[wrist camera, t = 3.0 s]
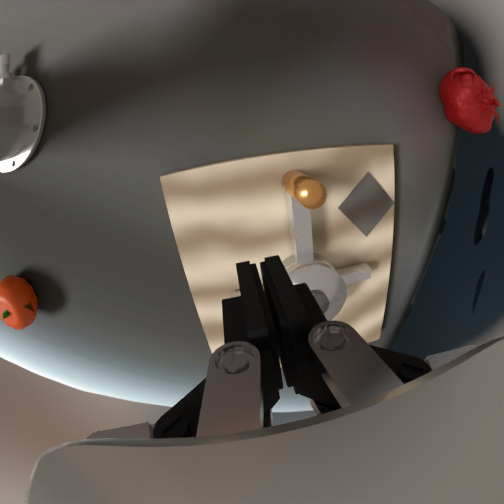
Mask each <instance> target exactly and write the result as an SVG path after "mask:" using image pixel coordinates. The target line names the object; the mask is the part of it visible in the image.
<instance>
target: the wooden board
mask: <svg viewBox="0 0 504 504" xmlns="http://www.w3.org/2000/svg"><path fill="white" fill-rule="evenodd" d="M292 170H295V171H298V172H300V173H302V174H304V175H306V176H309V177H311V178H313V179H314V180H316V181H318V182H320V183H322V184H323V185H324V186H325V188H326V190H327V198H326V201H325V203H324V204H323V205H322V206H321V207H319V208H317V209H310V212H311V225H312V240H313V252H314V253H318V254H320V255H322V256H324V257H325V258H326V259H327V260H328V261H329V262H330V264H331V265H332V266H333V267H334V268H335V270H337V269H342V268H346V267H350V266H354V265H358V264H362V263H366V264H367V265H368V266H369V267H370V268H371V278H370V279H367V280H363V281H359V282H355V283H352V284H348V285H346V288H347V296H346V300H345V303H344V305H343V307H342V309H341V310H340V312H339V313H338V314H337V315H336V316H335V317H334V318H333V319H332V320H331V321H341V322H345V323H347V324H349V325H350V326H352V327H353V328H354V329H355V330H356V331H357V332H358V333H359V335H360V336H361V337H362V338H363V339H364V340H365V341H366V342H367V343H369V342H372V341H374V340H377V339H379V338H380V333H381V328H382V323H383V317H384V311H385V305H386V298H387V291H388V284H389V275H390V266H391V256H392V244H393V228H394V195H395V183H394V151H393V144H387V143H373V144H354V145H339V146H327V147H316V148H307V149H298V150H290V151H282V152H275V153H268V154H261V155H254V156H248V157H242V158H237V159H231V160H226V161H220V162H215V163H210V164H205V165H200V166H196V167H191V168H187V169H182V170H178V171H174V172H169V173H165V174H163V175H162V176H160V180H161V184H162V189H163V193H164V197H165V201H166V205H167V209H168V213H169V217H170V221H171V224H172V228H173V232H174V236H175V239H176V243H177V246H178V250H179V253H180V257H181V260H182V264H183V267H184V270H185V274H186V277H187V280H188V283H189V287H190V290H191V293H192V296H193V299H194V302H195V305H196V308H197V311H198V314H199V317H200V320H201V323H202V326H203V329H204V332H205V335H206V338H207V340H208V343H209V346H210V349H211V351H212V354H213V352H214V351H215V350H216V349H217V348H219V347H220V346H222V345H224V330H223V314H222V299H227V298H231V292H236V291H240V288H239V282H238V275H237V269H236V263H240V262H245V261H250V264H254V263H256V266H257V269H258V273H259V276H260V279H261V283H262V286H263V281H262V274H261V268H260V262H264V261H265V260H264V258H265V257H270V256H275V255H279V257H280V259H281V261H283V260H285V259H286V258H288V257H289V256H291V255H293V254H292V244H291V234H290V225H289V216H288V207H287V198H286V191H285V190H284V188H283V186H282V178H283V176H284V175H285V174H286V173H287V172H288V171H292ZM279 360H280V358H279ZM281 367H282V365H281V362H280V368H281Z"/></svg>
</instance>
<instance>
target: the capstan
mask: <svg viewBox="0 0 504 504" xmlns="http://www.w3.org/2000/svg"><path fill="white" fill-rule="evenodd" d="M282 186H283V188H284V190H285V191H286V198H287V207H288V216H289V225H290V234H291V244H292V254H293V255H291V256H289V257H288V258H286V259H285V260H283V261H282V263H283V265H284V267H285V269H286V271H287V273H288V275H289V277H290V279H291V281H292V283H293V285H296V284H301V283H306V284H307V285H308V287H309V289H310V290H311V292H312V294H313V296H314V298H315V299H316V301H317V303H318V305H319V306H320V308H321V310H322V312H323V314H324V315H325V317H326V319H327V321H331V320H332V319H333V318H334V317H335V316H336V315H337V314H338V313H339V312H340V310H341V309H342V307H343V305H344V303H345V300H346V296H347V288H346V285H348V284H352V283H355V282H359V281H363V280H367V279H370V278H371V268H370V267H369V266H368V265H367V264H366V263H362V264H358V265H354V266H350V267H346V268H342V269H337V270H335V268H334V267H333V266H332V265H331V264H330V262H329V261H328V260H327V259H326V258H325V257H324V256H322V255H320V254H318V253H314V252H313V240H312V225H311V212H310V209H317V208H319V207H321V206H322V205H323V204H324V203H325V201H326V198H327V190H326V188H325V186H324V185H323V184H322V183H320V182H318V181H316V180H314V179H313V178H311V177H309V176H306V175H304V174H302V173H300V172H298V171H295V170H292V171H288V172H287V173H286V174H285V175H284V176H283V178H282ZM263 289H264V287H263ZM237 296H241V294H240V291H236V292H231V298H232V297H237Z"/></svg>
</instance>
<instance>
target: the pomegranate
mask: <svg viewBox="0 0 504 504" xmlns="http://www.w3.org/2000/svg"><path fill="white" fill-rule="evenodd" d="M479 78H480V79H479ZM493 92H494V85H493V88H492V89H490V88H489V87H488V86H487V85H486V83H485V82H484V81H483V80H482V79H481V77H480V76H479V77H478V76H477V75H476V74H475V72H474V71H473V70H472V69H469V68H466V67H459V68H456V69H454V70H451V71H450V72H448V73H447V74H446V75H445V76H444V78H443V79H442V81H441V84H440V91H439V94H440V98H441V101H442V103H443V106H444V112H445V115H446V117H447V119H448V120H449V121H450V122H451V123H453V124H454V125H456V126H458V127H460V128H462V129H464V130H466V131H468V132H470V133H473V134H479V133H486V132H488V131H489V130H490V129H491V126H492V121H493V118H494V116H495V115H496V117H497V123H498V121H499V117H498V115H497V113H496V111H495V109H496V106H497V107H498V106H500V103H499V101H498V100H497V99H495V96H494V93H493Z"/></svg>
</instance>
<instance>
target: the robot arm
mask: <svg viewBox="0 0 504 504" xmlns="http://www.w3.org/2000/svg"><path fill="white" fill-rule="evenodd" d="M9 66H10V53H5V54H2V55H1V56H0V172H11V171H14V170H16V169H18V168H20V167H22V166H23V165H24V164H25V163H26V162H27V161H28V160H29V159H30V158H31V156H32V155H33V153H34V152H35V150H36V148H37V146H38V144H39V142H40V139H41V136H42V133H43V129H44V124H45V117H46V101H45V96H44V93H43V90H42V87H41V86H40V84H39V83H38V82H37V81H36V80H35V79H34V78H32V77H29V76H23V75H19V76H14V77H12V73H10V72H9ZM264 260H265V261H264V262H260V268H261V274H262V281H263V286H262V283H261V279H260V276H259V273H258V269H257V266H256V263H254V264H250V261H245V262H240V263H236V269H237V275H238V282H239V288H240V294H241V296H237V297H232V298H227V299H222V314H223V330H224V345H222V346H220V347H219V348H217V349H216V350H215V351H214V352H213V354H212V355H211V358H210V360H209V366H208V371H207V377H206V378H205V379H204V380H203V381H202V382H201V383H200V384H198V385H197V386H196V387H195V388H194V389H193V390H192V391H191V392H189V393H188V394H187V395H186V396H185V397H184V398H183V399H181V400H180V401H179V402H178V403H177V404H176V405H174V406H173V407H172V408H171V409H170V410H169V411H167V412H166V413H165V414H164V415H163V416H161V417H160V419H159V420H158V421H157V422H156V423H155V424H151V425H150V424H149V423H148V422H145V423H141V424H136V425H131V426H126V427H121V428H116V429H110V430H103V431H97V432H94V433H92V434H91V435H90V436H88V437H87V439H85V440H78V441H71V442H68V443H64V444H60V445H57V446H55V447H52V448H50V449H48V450H46V451H45V452H44V453H43V454H42V455H41V456H40V457H39V458H38V460H37V462H36V464H35V466H34V468H33V471H32V473H31V476H30V479H29V483H28V487H27V491H26V495H25V500H24V504H504V336H502V337H499V338H496V339H493V340H491V341H488V342H486V343H484V344H482V345H480V346H475V345H470V346H465V347H462V348H459V349H455V350H451V351H448V352H444V353H440V354H436V355H432V356H427V358H426V360H422V359H420V358H417V357H414V356H410V355H406V354H402V353H398V352H394V351H390V350H387V349H383V348H379V347H375V346H372V345H369V344H368V343H367V342H366V341H365V340H364V339H363V338H362V337H361V336H360V335H359V333H358V332H357V331H356V330H355V329H354V328H353V327H352V326H350V325H349V324H347V323H345V322H341V321H327V319H326V317H325V315H324V314H323V312H322V310H321V308H320V306H319V305H318V303H317V301H316V299H315V298H314V296H313V294H312V292H311V290H310V289H309V287H308V285H307V284H306V283H301V284H296V285H293V283H292V281H291V279H290V277H289V275H288V273H287V271H286V269H285V267H284V265H283V263H282V261H281V259H280V257H279V255H275V256H270V257H265V258H264ZM263 287H264V289H263ZM279 358H280V360H279ZM280 362H281V365H282V369H283V372H284V376H285V379H286V383H287V386H288V387H292V386H293V387H294V390H295V393H296V394H300V395H303V396H305V397H308V398H309V401H310V404H311V406H312V408H313V410H314V411H315V413H316V415H317V416H314V417H310V418H307V419H303V420H299V421H295V422H291V423H286V424H281V425H277V426H272V410H271V409H272V408H273V406H274V405H275V404H276V403H277V401H278V400H279V399H280V395H279V389H283V383H282V375H281V368H280Z"/></svg>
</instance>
